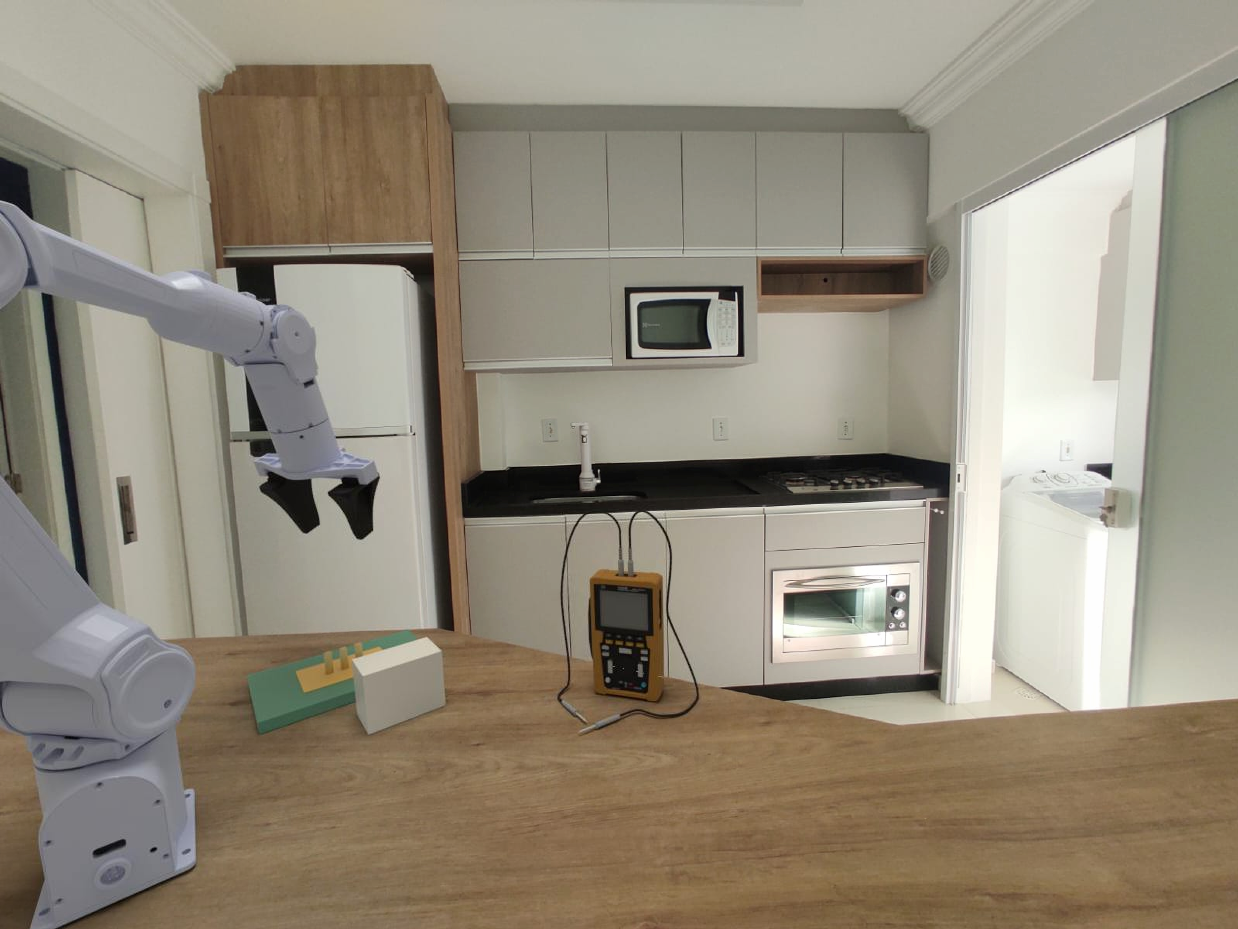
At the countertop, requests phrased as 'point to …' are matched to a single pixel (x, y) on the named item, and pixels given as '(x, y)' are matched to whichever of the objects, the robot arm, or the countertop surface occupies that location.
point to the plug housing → (398, 684)
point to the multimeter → (626, 631)
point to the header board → (311, 683)
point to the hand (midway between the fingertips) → (338, 531)
